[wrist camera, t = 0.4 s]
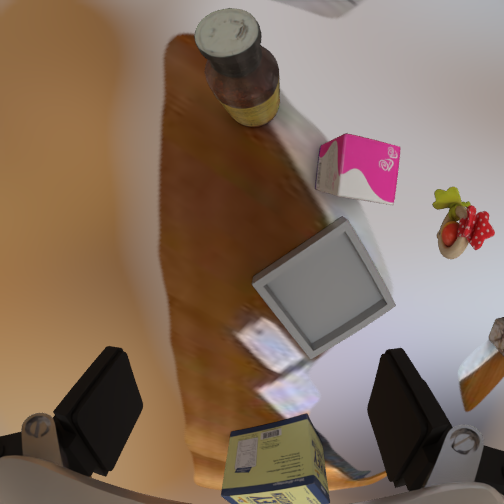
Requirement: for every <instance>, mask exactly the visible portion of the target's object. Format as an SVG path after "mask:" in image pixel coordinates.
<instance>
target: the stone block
mask: <svg viewBox="0 0 504 504" xmlns="http://www.w3.org/2000/svg"><path fill="white" fill-rule="evenodd" d="M489 339H490V341H491V342H492V343H493V344H494V346H496V348H497V349H498V350H499V351H500V353H501V354H502V355H503V356H504V317H502V318H498V319H496V320H495V322H494V324H493V327H492V330H491V332H490V335H489Z"/></svg>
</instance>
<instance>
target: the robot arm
mask: <svg viewBox="0 0 504 504" xmlns="http://www.w3.org/2000/svg"><path fill="white" fill-rule="evenodd" d="M142 409H143V402H142V399H141V396H140V393H139V390H138V387H137V384H136V382H135V378H134V375H133V372H132V369H131V366H130V362H129V359H128V356H127V354H126V352H124V351H123V349H122V348H118V347H111V346H108V347H106V348H105V349H104V350H103V351H102V353H101V354H100V355H99V356H98V357H97V358H96V360H95V361H94V362H93V363H92V364H91V366H90V367H89V368H88V369H87V370H86V372H85V373H84V374H83V375H82V377H81V378H80V379H79V380H78V382H77V383H76V384H75V385H74V386H73V387H72V389H71V390H70V391H69V392H68V394H67V395H66V396H65V397H64V399H63V400H62V401H61V403H60V404H59V405H58V406H57V407H56V409H55V410H54V411H53V412H54V414H55V416H54V417H53V418H52V417H51V416H50V415H48V414H45V413H36V414H33V415H31V416H29V417H28V418H27V419H26V420H25V421H24V422H23V424H22V429H21V430H22V431H21V432H18V433H14V434H9V435H5V436H0V504H189V503H184V502H178V501H173V500H167V499H163V498H158V497H154V496H150V495H145V494H142V493H137V492H134V491H130V490H127V489H124V488H120V487H117V486H114V485H111V484H108V483H105V482H102V481H99V480H96V479H93V478H92V477H91V475H92V473H93V472H94V473H97V474H99V475H102V476H107V474H108V471H112V470H113V468H114V466H115V464H116V462H117V460H118V458H119V456H120V454H121V451H122V450H123V448H124V446H125V444H126V442H127V440H128V438H129V436H130V433H131V431H132V429H133V427H134V425H135V423H136V421H137V419H138V417H139V415H140V413H141V411H142ZM367 410H368V416H369V419H370V422H371V425H372V428H373V431H374V434H375V437H376V440H377V444H378V447H379V450H380V453H381V456H382V460H383V463H384V466H385V470H386V473H387V477H388V479H389V481H390V482H392V481H393V482H394V486H395V488H396V487H400V486H404V485H406V486H407V489H408V490H409V492H405V493H401V494H397V495H393V496H389V497H384V498H379V499H374V500H370V501H364V502H358V503H351V504H504V451H501V450H498V449H494V448H491V447H488V446H484V439H483V436H482V434H481V433H480V431H479V430H477V429H476V428H475V427H472V426H470V425H458V426H456V427H454V428H453V427H452V425H451V424H450V422H449V420H448V418H447V417H446V415H445V413H444V412H443V410H442V408H441V406H440V405H439V403H438V401H437V400H436V398H435V397H434V395H433V393H432V392H431V390H430V388H429V387H428V385H427V383H426V382H425V381H424V380H423V379H422V378H421V376H420V375H419V373H418V371H417V370H416V368H415V367H414V365H413V364H412V362H411V360H410V359H409V357H408V356H407V354H406V353H405V351H404V350H403V349H402V348H397V349H388V350H386V352H385V354H382V355H381V358H380V362H379V366H378V370H377V374H376V378H375V382H374V386H373V389H372V393H371V396H370V400H369V403H368V409H367Z"/></svg>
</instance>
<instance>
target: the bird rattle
mask: <svg viewBox="0 0 504 504" xmlns="http://www.w3.org/2000/svg"><path fill="white" fill-rule="evenodd" d="M434 194H435V198H436V201H435V202H434V203H433V204H432V205H433V207H434V208H435V209H444V208H450V209H449V212H448V214H447V215H446V217H445V219H444V221H443V223H442V225H441V228H440V230H439V232H438V233H437V238H438V246H439V250H440V252H441V254H442V255H443V256H444V257H446V258H448V259H454V258H457V257H458V256H460V255H461V254H462V253H463V252H464V250H465V248H466V247H467V245H468V243H470V244H471V246H472V247H473V248H474V249H475V250H477V249H479V248H480V247H481V246H482V244H483V242H484V240H485V239H487V238H490V237H492V236H493V235H494V234H495V232H494V229H493V228H492V226H491V225H490V224H489V222H488V220H489V214H488V213H487V212H486V211H483V212H479V213H478V214H476V208H475V207H474V206H472V205H470V202H469V201H468V202H466V203H465V202H461V198H460V195H459V191H458V189H457V188H455V187H450V188H449V189H448V190H447V191H444V190H441V189H437V190H436V191H435V193H434ZM465 207H466V208H467V209H466V208H465ZM458 220H460V222H459V223H458V222H456V221H458Z"/></svg>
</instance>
